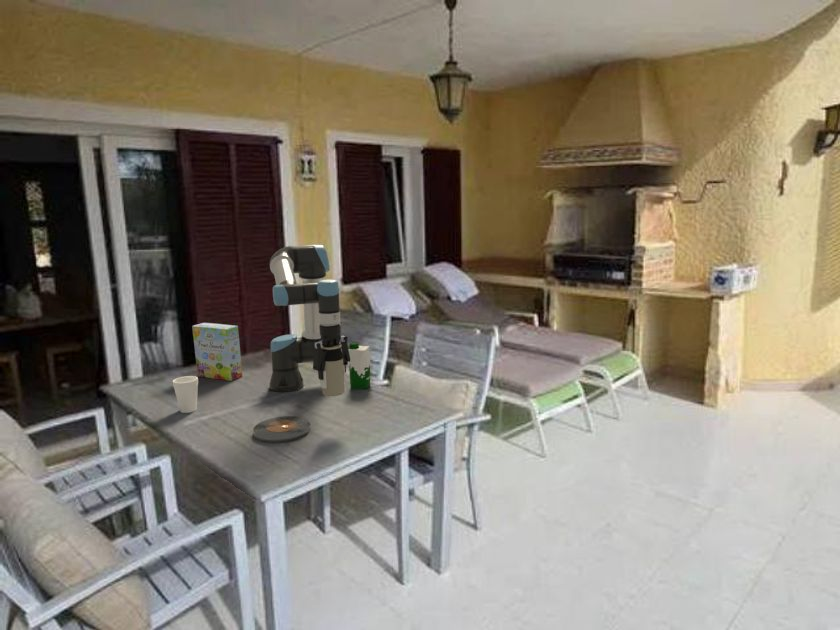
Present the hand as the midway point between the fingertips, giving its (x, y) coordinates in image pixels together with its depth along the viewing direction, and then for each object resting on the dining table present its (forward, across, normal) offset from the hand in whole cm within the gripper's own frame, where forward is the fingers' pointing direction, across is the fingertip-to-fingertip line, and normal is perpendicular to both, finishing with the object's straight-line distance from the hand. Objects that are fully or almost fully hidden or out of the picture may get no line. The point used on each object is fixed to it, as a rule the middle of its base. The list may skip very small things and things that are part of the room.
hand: (333, 384), depth 204 cm
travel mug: (+4, 0, 0) cm, 4 cm away
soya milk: (+17, +37, +28) cm, 50 cm away
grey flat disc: (+16, -15, +11) cm, 25 cm away
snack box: (+18, +4, +93) cm, 95 cm away
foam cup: (+17, -27, +60) cm, 69 cm away
